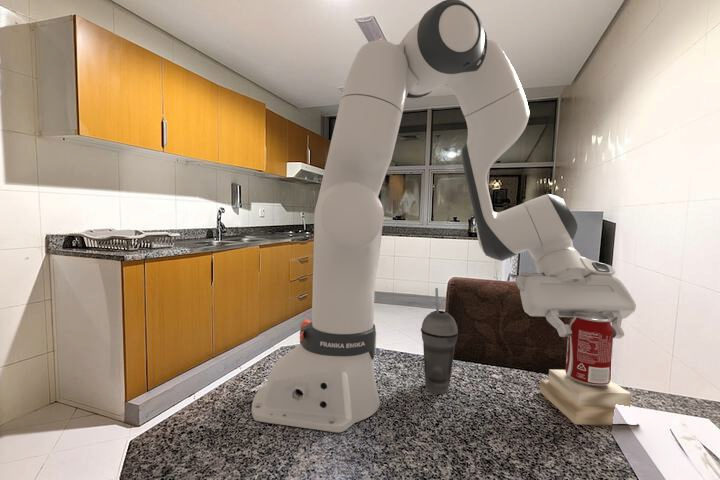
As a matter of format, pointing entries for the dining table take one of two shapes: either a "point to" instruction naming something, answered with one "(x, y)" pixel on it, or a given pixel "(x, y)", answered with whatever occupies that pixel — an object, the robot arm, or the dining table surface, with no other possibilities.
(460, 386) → the dining table surface
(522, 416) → the dining table surface
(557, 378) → the cream stepped square block
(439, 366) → the beverage cup
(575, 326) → the soda can
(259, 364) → the dining table surface
